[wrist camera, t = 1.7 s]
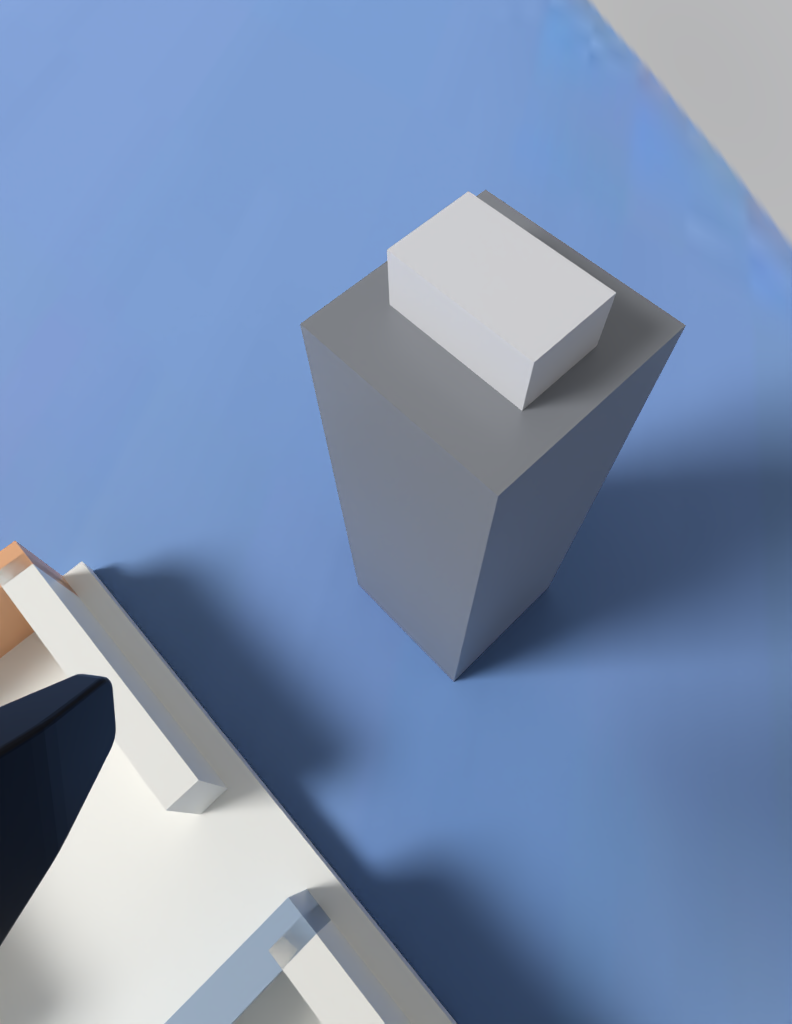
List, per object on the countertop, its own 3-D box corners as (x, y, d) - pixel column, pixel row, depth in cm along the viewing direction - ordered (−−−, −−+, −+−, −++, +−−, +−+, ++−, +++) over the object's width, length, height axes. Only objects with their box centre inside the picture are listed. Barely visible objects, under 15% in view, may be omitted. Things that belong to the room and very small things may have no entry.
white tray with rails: (591, 1190, 17) (637, 1281, 13) (226, 1698, 14) (161, 1992, 10) (92, 569, 24) (37, 524, 20) (-220, 809, 21) (-346, 803, 17)
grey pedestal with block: (548, 587, 23) (714, 270, 10) (453, 681, 22) (507, 454, 9) (452, 501, 25) (491, 130, 12) (358, 584, 23) (288, 270, 10)
